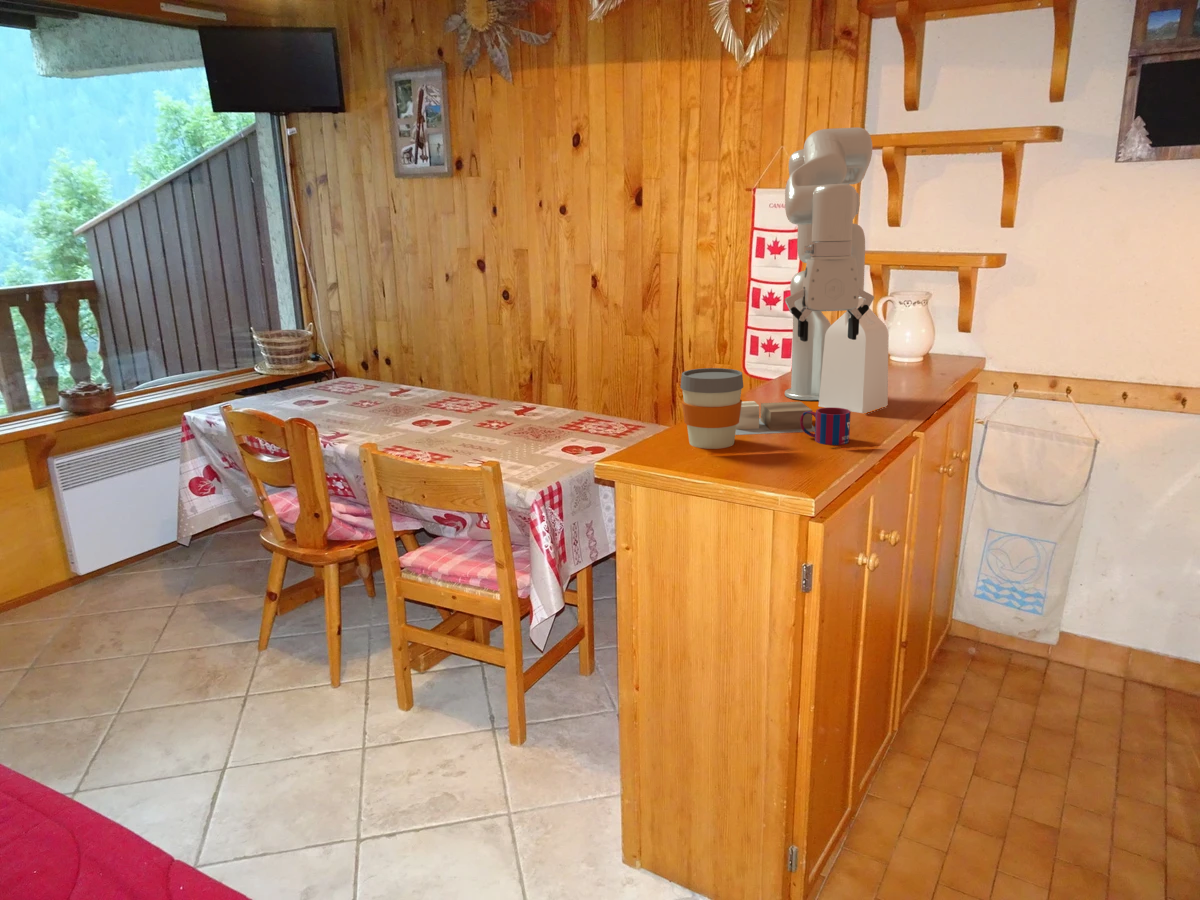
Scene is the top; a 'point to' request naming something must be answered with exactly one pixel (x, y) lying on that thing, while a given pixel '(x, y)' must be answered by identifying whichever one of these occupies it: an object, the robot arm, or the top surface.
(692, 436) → the reusable coffee cup
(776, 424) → the walnut slab
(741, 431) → the board
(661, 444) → the top surface
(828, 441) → the cup
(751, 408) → the birch cube
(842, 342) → the milk
